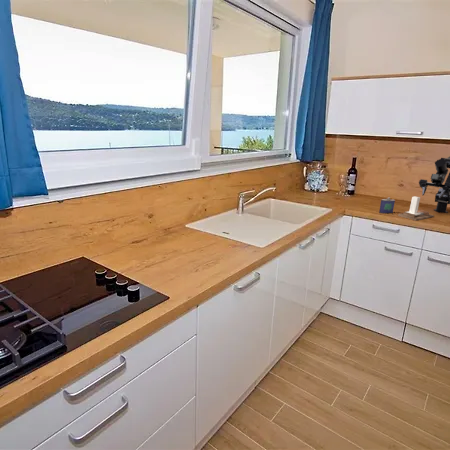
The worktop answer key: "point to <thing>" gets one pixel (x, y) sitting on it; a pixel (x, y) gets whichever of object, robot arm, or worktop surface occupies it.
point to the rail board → (418, 217)
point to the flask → (386, 206)
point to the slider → (414, 206)
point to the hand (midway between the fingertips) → (430, 196)
